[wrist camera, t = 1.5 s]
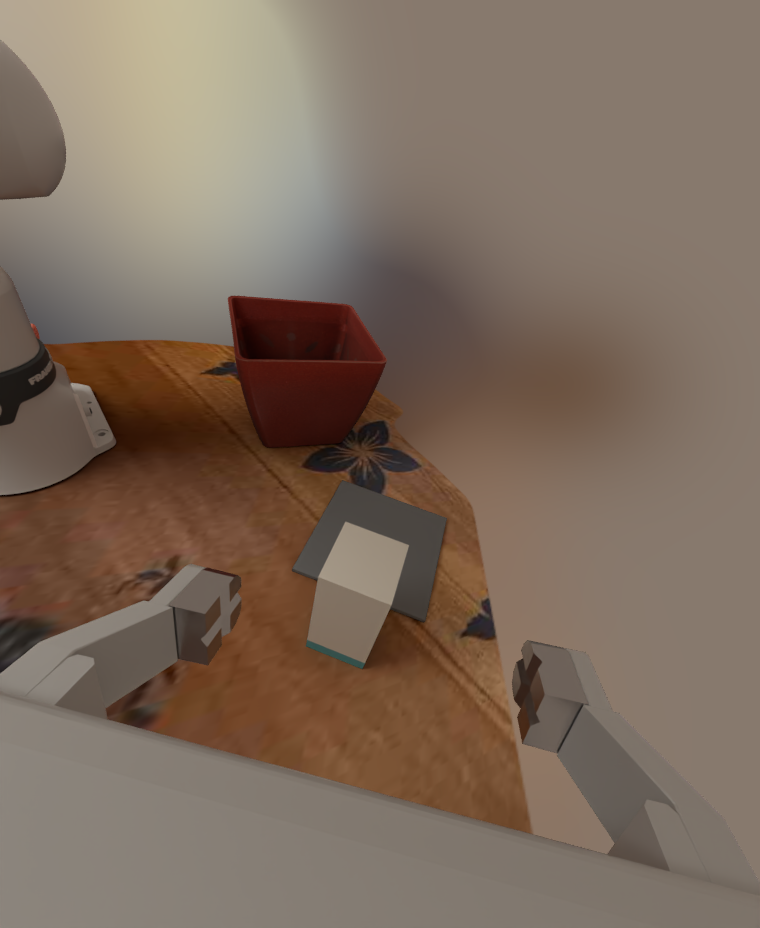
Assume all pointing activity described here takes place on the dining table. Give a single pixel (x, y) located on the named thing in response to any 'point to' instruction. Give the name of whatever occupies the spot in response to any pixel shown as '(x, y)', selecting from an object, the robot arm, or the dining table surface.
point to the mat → (388, 521)
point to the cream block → (355, 593)
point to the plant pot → (303, 368)
